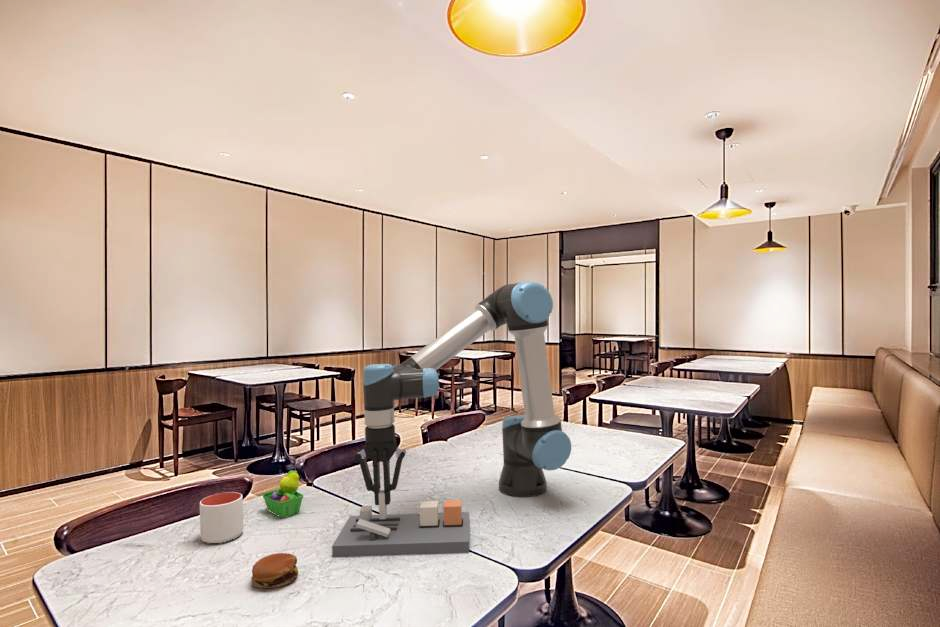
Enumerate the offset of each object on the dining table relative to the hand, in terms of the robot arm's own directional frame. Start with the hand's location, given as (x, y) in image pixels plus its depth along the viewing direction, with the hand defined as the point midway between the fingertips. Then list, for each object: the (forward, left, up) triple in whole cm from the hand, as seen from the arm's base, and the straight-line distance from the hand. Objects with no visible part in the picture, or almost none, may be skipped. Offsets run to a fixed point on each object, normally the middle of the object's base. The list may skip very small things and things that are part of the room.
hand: (383, 517), depth 130 cm
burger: (+20, +21, -5) cm, 29 cm away
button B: (-12, 0, -2) cm, 12 cm away
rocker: (+1, +7, 0) cm, 7 cm away
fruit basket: (+32, -18, -5) cm, 37 cm away
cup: (+42, -2, -5) cm, 42 cm away
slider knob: (+4, 0, -2) cm, 5 cm away
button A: (-18, 0, -2) cm, 18 cm away
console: (-6, +2, -5) cm, 8 cm away
